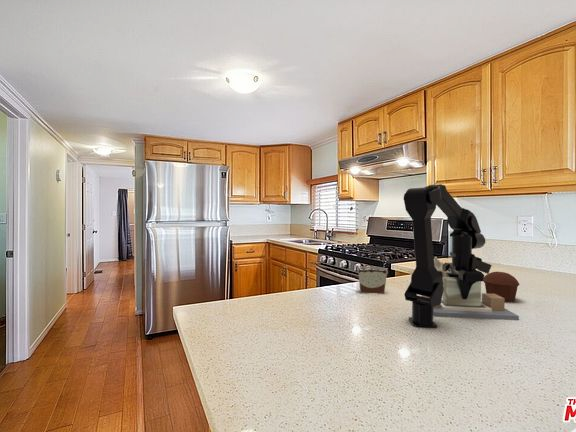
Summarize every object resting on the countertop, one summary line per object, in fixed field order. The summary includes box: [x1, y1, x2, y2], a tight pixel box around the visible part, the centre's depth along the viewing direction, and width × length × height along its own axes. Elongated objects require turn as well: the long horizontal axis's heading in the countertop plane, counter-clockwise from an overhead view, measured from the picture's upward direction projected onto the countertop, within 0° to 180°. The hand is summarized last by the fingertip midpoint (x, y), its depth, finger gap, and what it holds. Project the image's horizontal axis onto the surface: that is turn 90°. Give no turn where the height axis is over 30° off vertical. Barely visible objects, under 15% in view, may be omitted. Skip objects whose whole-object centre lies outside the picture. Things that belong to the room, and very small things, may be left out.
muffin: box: [483, 271, 520, 303], centre depth 119 cm, size 12×11×10 cm
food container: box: [356, 265, 389, 295], centre depth 129 cm, size 12×6×10 cm, turn 84°
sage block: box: [442, 277, 482, 306], centre depth 105 cm, size 5×10×8 cm, turn 82°
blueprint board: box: [421, 292, 520, 321], centre depth 105 cm, size 15×27×5 cm, turn 83°
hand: (461, 297), depth 105 cm, fingers closed on sage block, 5 cm apart
